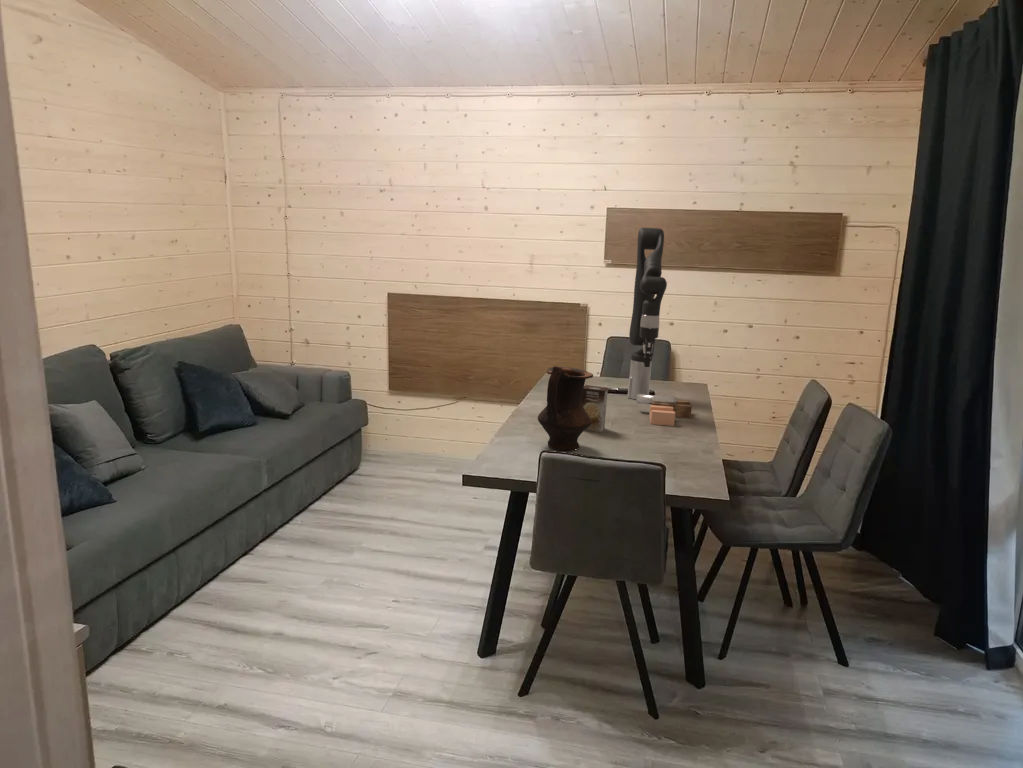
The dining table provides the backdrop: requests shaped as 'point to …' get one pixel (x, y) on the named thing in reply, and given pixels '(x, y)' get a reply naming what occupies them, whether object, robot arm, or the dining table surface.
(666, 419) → the terracotta cradle
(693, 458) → the dining table surface
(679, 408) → the wooden channel bracket
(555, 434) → the jug
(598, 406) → the coffee box
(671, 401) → the steel axle
